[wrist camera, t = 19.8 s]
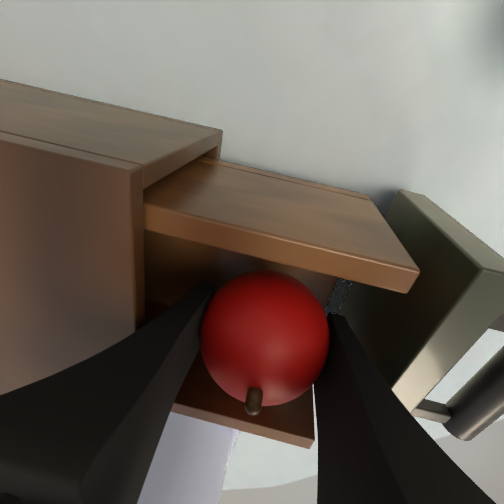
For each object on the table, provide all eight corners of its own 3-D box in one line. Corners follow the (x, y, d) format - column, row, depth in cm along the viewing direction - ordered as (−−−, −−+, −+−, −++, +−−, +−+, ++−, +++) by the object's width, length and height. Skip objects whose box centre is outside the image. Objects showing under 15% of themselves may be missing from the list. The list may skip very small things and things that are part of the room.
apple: (306, 342, 13) (309, 472, 9) (213, 318, 14) (168, 433, 9) (340, 263, 11) (370, 386, 6) (226, 235, 11) (173, 335, 7)
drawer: (534, 220, 12) (744, 330, 6) (413, 370, 17) (467, 501, 12) (132, 126, 12) (-5, 150, 7) (138, 300, 18) (65, 392, 12)
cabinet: (223, 130, 12) (129, 171, 6) (200, 313, 18) (141, 441, 12) (-64, 64, 13) (-474, 27, 6) (4, 263, 19) (-163, 358, 12)
